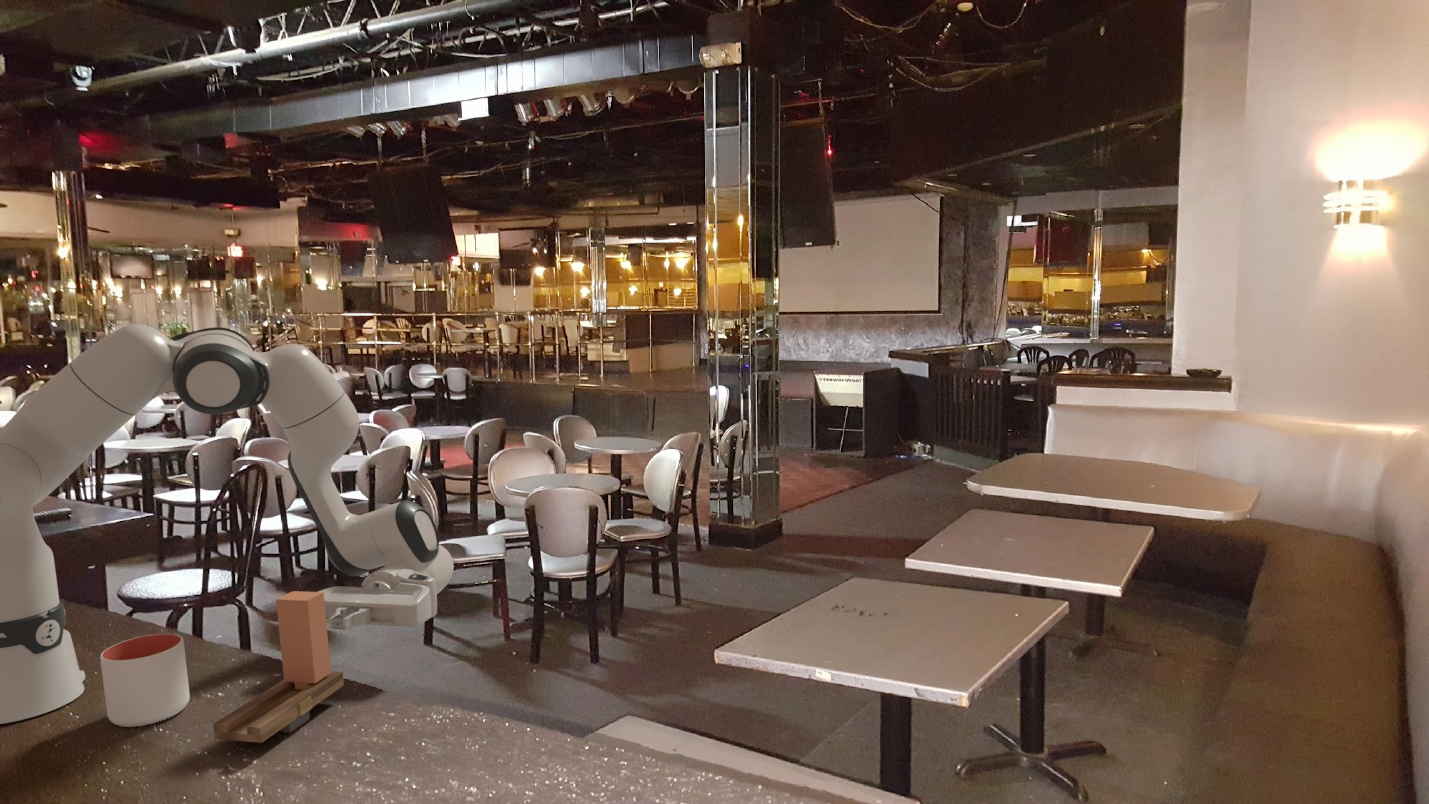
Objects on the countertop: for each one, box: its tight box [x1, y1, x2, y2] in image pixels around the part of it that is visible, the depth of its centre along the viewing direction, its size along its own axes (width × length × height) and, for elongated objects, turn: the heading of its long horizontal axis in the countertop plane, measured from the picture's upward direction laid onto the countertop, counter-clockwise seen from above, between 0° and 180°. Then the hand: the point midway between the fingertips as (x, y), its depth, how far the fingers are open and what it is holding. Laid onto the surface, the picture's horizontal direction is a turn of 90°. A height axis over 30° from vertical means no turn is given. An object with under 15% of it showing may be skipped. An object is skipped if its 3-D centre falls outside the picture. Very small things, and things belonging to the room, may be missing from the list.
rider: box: [275, 590, 332, 689], centre depth 129 cm, size 5×4×13 cm
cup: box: [99, 633, 191, 728], centre depth 129 cm, size 10×10×10 cm
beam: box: [212, 670, 345, 744], centre depth 124 cm, size 7×17×4 cm, turn 167°
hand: (337, 624), depth 136 cm, fingers closed
